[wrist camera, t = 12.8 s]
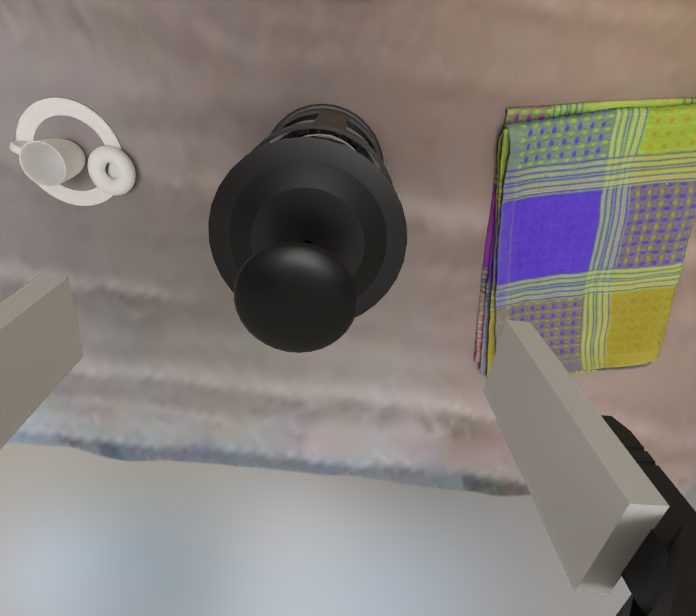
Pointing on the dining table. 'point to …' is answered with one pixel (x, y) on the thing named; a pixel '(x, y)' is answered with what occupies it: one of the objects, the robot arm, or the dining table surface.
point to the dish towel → (589, 229)
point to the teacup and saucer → (71, 155)
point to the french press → (308, 229)
